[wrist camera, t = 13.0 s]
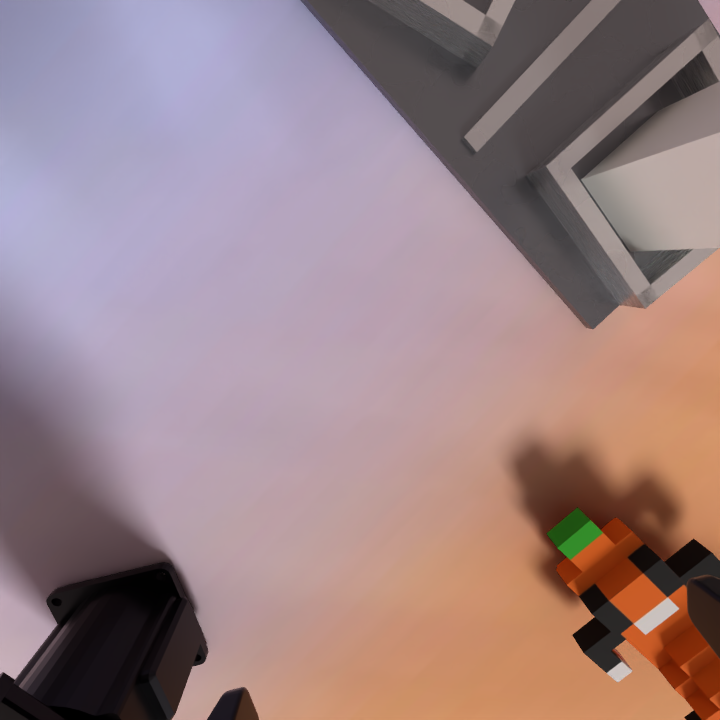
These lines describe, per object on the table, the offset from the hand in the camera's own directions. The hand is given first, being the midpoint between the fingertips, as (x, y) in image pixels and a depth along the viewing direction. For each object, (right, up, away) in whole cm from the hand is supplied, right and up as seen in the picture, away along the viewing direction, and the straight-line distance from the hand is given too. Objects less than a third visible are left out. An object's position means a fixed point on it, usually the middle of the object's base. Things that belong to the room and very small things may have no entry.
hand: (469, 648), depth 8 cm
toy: (+13, -7, +15) cm, 21 cm away
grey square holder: (+10, +14, +10) cm, 19 cm away
